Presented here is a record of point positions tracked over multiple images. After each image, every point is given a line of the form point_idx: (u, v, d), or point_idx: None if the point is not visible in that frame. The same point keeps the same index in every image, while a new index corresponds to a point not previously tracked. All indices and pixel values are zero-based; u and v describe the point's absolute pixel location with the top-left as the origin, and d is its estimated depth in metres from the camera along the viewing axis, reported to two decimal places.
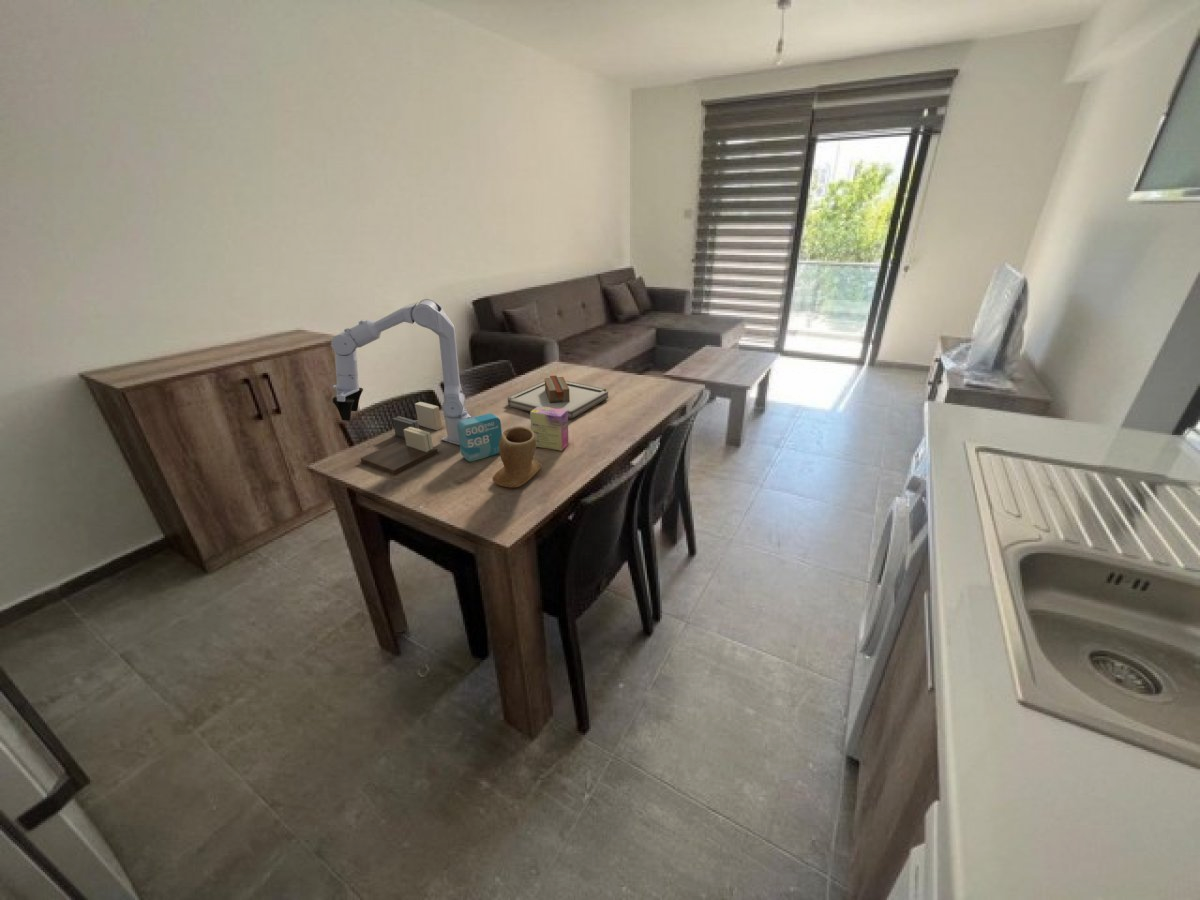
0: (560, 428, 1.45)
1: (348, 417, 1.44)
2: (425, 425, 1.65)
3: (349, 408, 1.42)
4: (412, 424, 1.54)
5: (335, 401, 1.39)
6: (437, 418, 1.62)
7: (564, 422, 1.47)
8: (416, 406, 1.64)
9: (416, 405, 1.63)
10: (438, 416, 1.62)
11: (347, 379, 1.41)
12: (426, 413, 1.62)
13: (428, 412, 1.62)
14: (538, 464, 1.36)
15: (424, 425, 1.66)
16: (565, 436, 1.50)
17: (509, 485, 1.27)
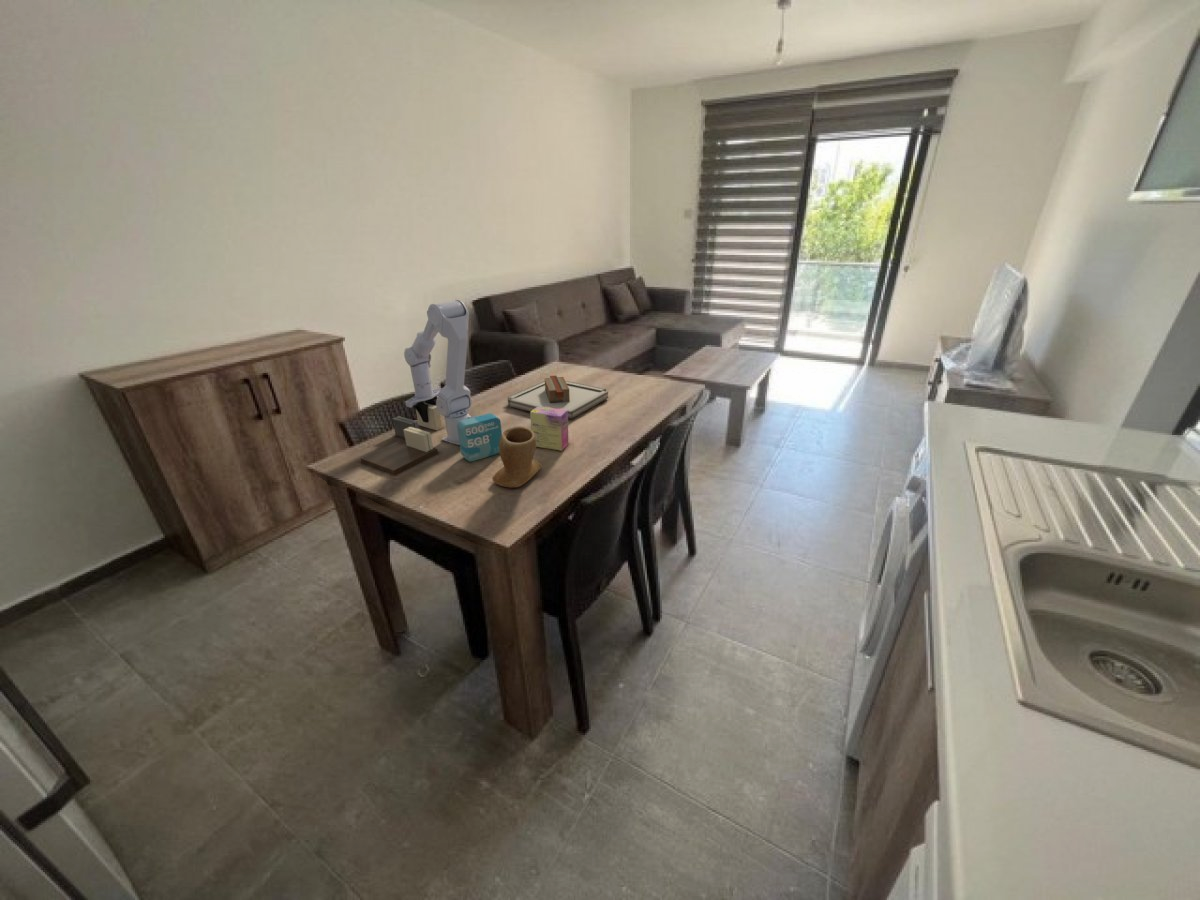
0: (560, 428, 1.45)
1: (425, 419, 1.63)
2: (425, 425, 1.65)
3: (423, 411, 1.60)
4: (412, 424, 1.54)
5: None
6: (437, 418, 1.62)
7: (564, 422, 1.47)
8: None
9: None
10: (438, 416, 1.62)
11: (418, 388, 1.57)
12: None
13: (428, 412, 1.62)
14: (538, 464, 1.36)
15: (424, 425, 1.66)
16: (565, 436, 1.50)
17: (509, 485, 1.27)
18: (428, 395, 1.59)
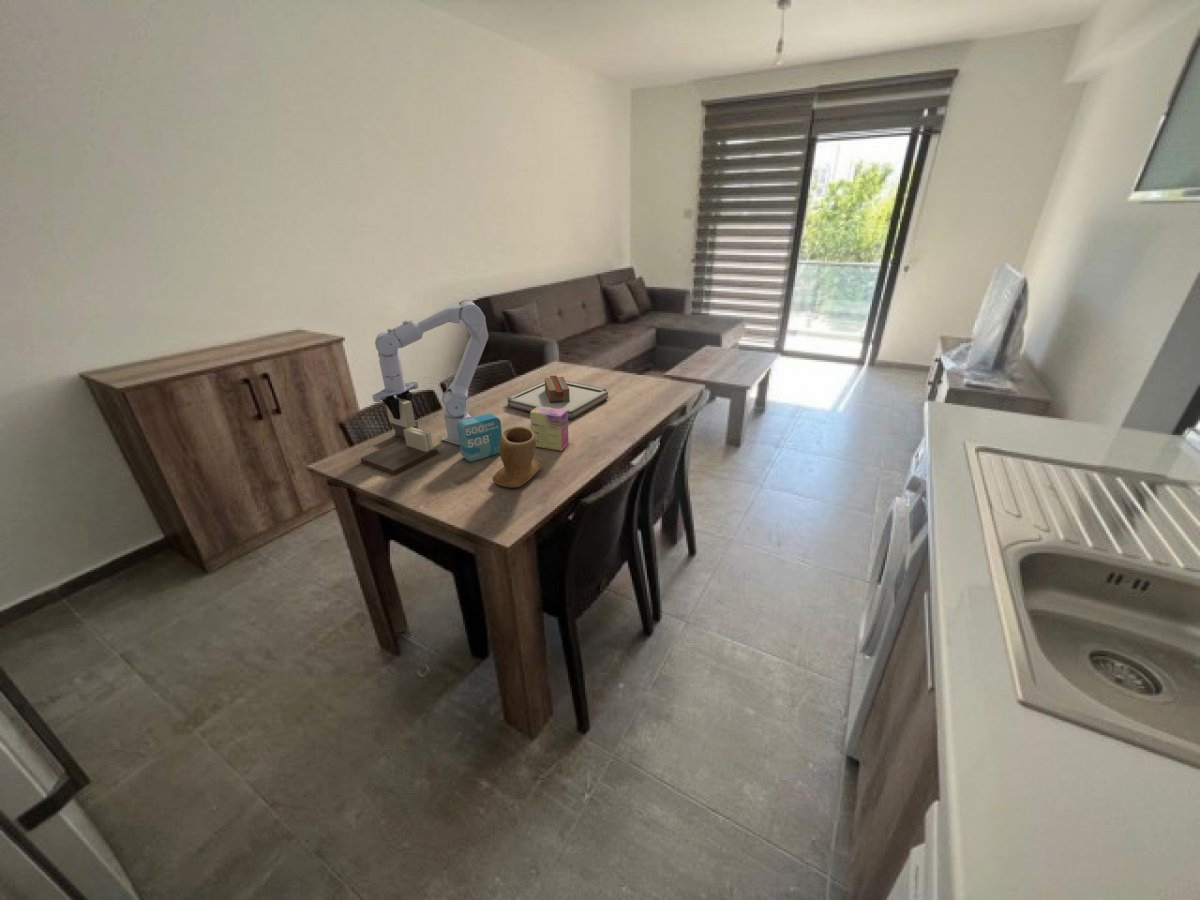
0: (560, 428, 1.45)
1: (397, 416, 1.44)
2: (396, 422, 1.47)
3: (393, 407, 1.42)
4: None
5: None
6: (409, 415, 1.44)
7: (564, 422, 1.47)
8: None
9: None
10: (410, 412, 1.44)
11: (387, 380, 1.39)
12: None
13: (399, 408, 1.43)
14: (538, 464, 1.36)
15: (395, 422, 1.47)
16: (565, 436, 1.50)
17: (509, 485, 1.27)
18: (399, 388, 1.41)
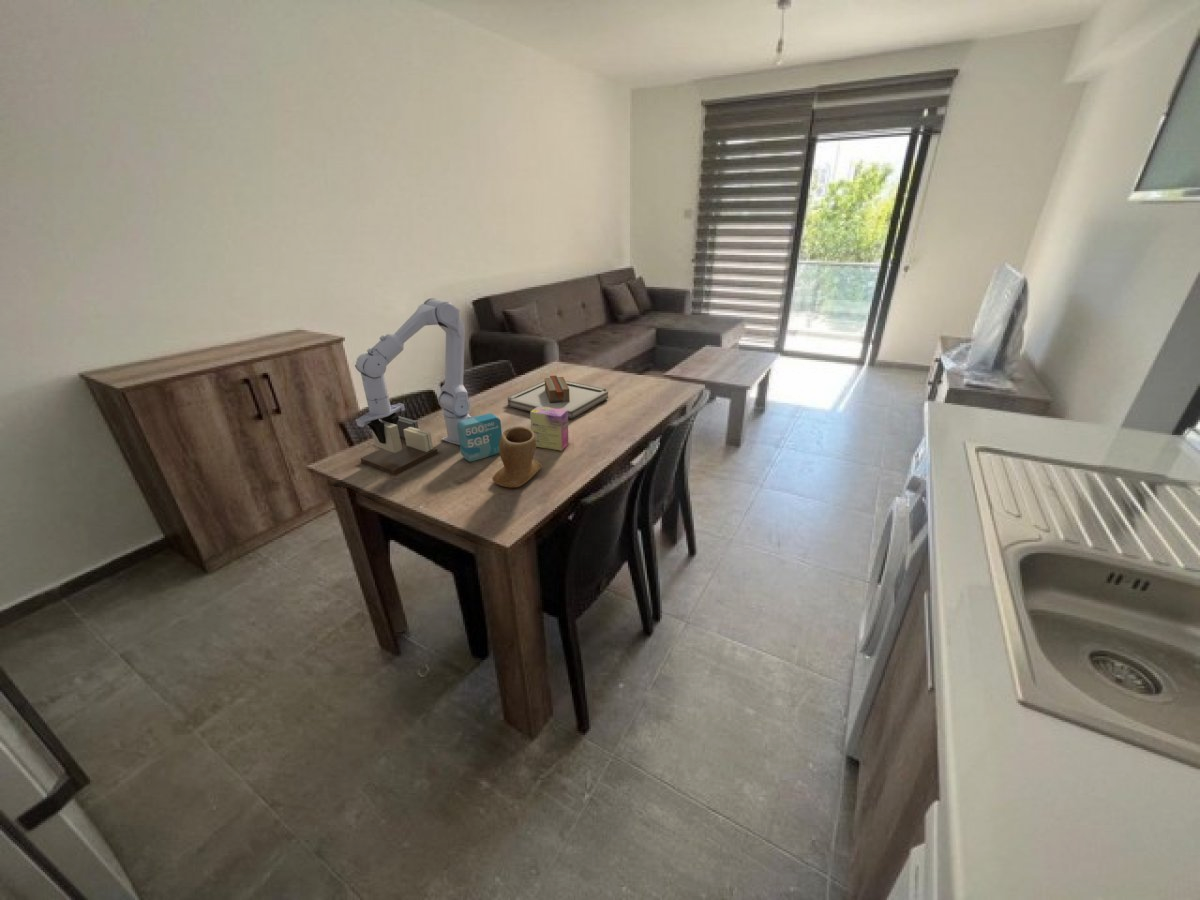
0: (560, 428, 1.45)
1: (382, 440, 1.37)
2: (382, 446, 1.40)
3: (379, 431, 1.35)
4: (412, 424, 1.54)
5: None
6: (395, 439, 1.37)
7: (564, 422, 1.47)
8: None
9: None
10: (397, 436, 1.37)
11: (371, 403, 1.32)
12: None
13: (385, 432, 1.36)
14: (538, 464, 1.36)
15: (381, 446, 1.40)
16: (565, 436, 1.50)
17: (509, 485, 1.27)
18: (384, 412, 1.34)
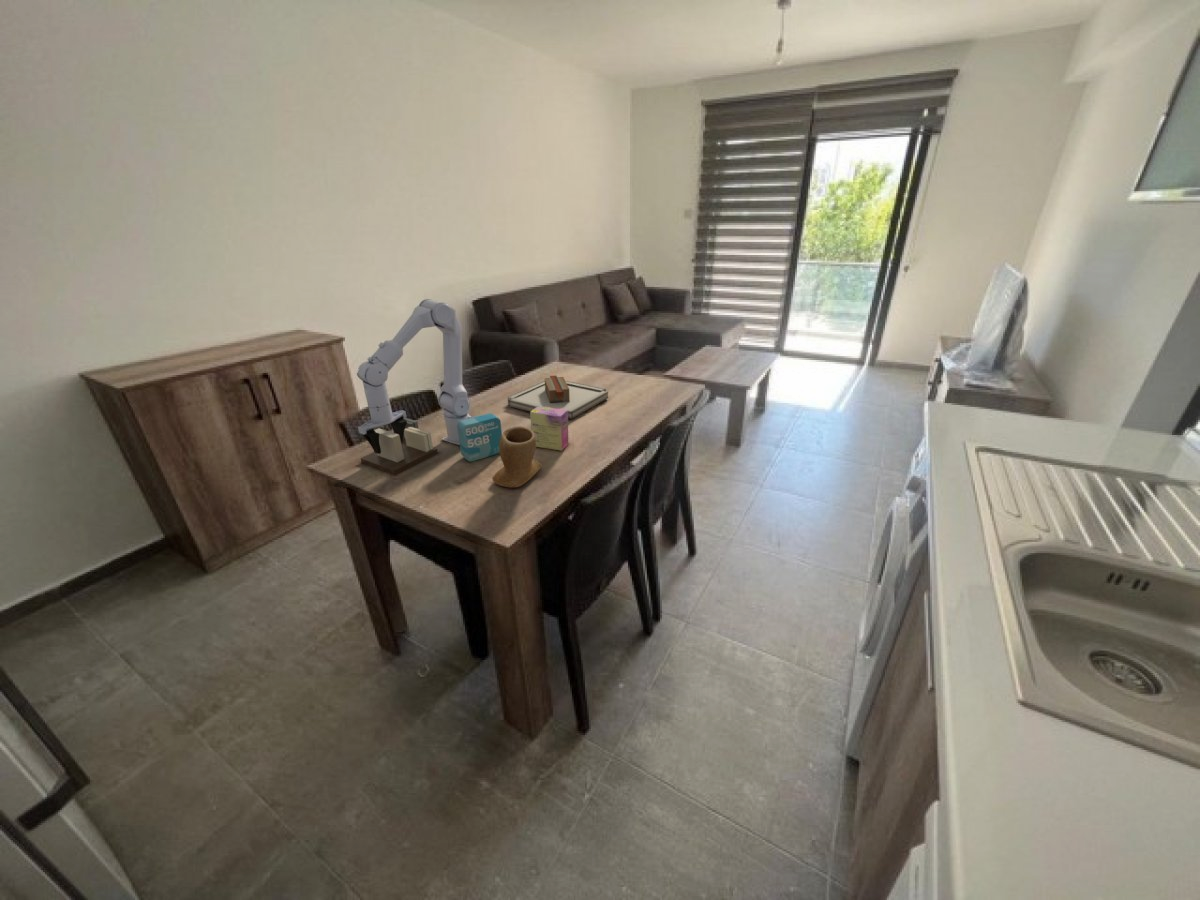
0: (560, 428, 1.45)
1: (377, 450, 1.37)
2: (384, 456, 1.41)
3: (373, 441, 1.34)
4: (412, 424, 1.54)
5: None
6: (397, 448, 1.38)
7: (564, 422, 1.47)
8: None
9: None
10: (399, 446, 1.38)
11: (373, 411, 1.33)
12: (385, 442, 1.38)
13: (387, 442, 1.38)
14: (538, 464, 1.36)
15: (383, 456, 1.42)
16: (565, 436, 1.50)
17: (509, 485, 1.27)
18: (386, 419, 1.35)
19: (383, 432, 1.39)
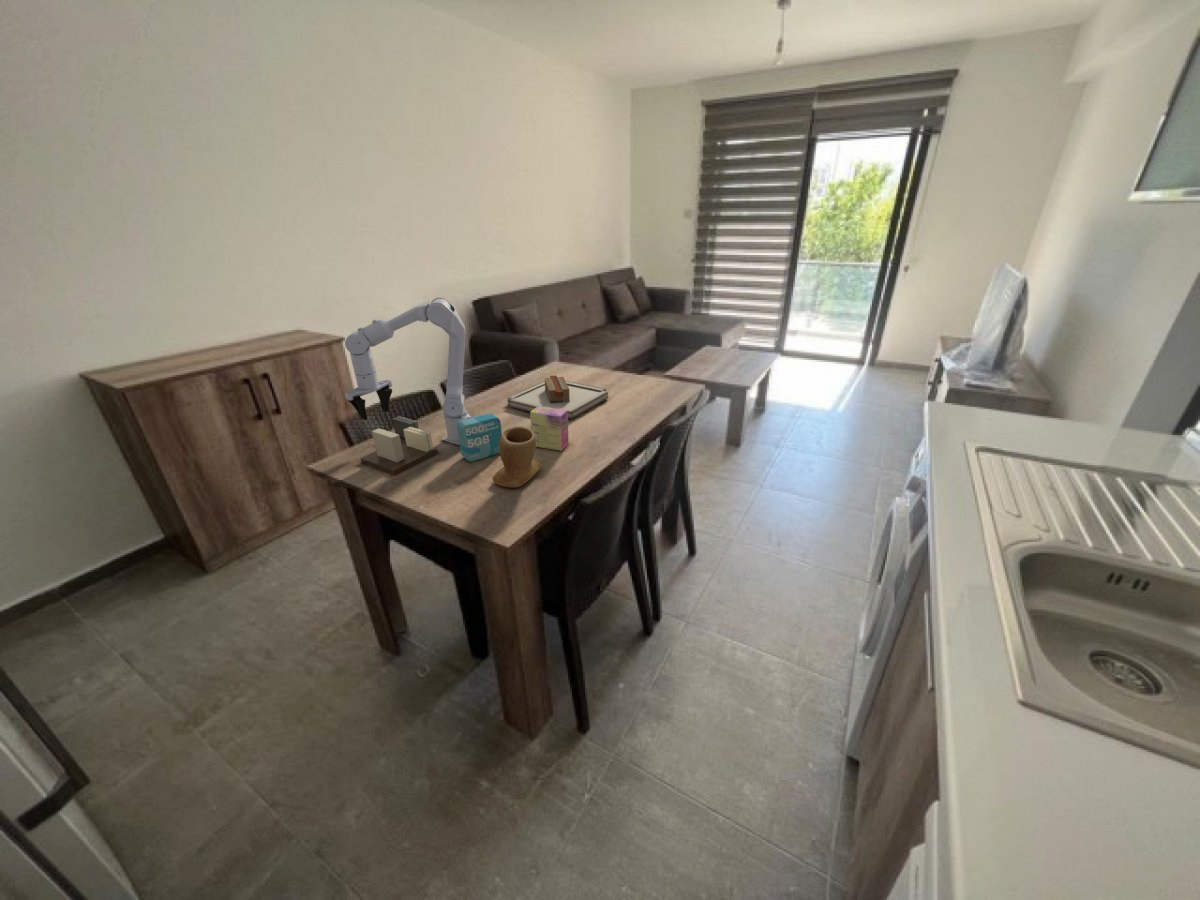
0: (560, 428, 1.45)
1: (363, 416, 1.44)
2: (384, 456, 1.41)
3: (360, 407, 1.42)
4: (412, 424, 1.54)
5: (348, 399, 1.42)
6: (397, 448, 1.38)
7: (564, 422, 1.47)
8: (373, 434, 1.40)
9: (373, 433, 1.40)
10: (399, 446, 1.38)
11: (359, 378, 1.40)
12: (385, 442, 1.38)
13: (387, 442, 1.38)
14: (538, 464, 1.36)
15: (383, 456, 1.42)
16: (565, 436, 1.50)
17: (509, 485, 1.27)
18: (372, 387, 1.42)
19: (383, 432, 1.39)
